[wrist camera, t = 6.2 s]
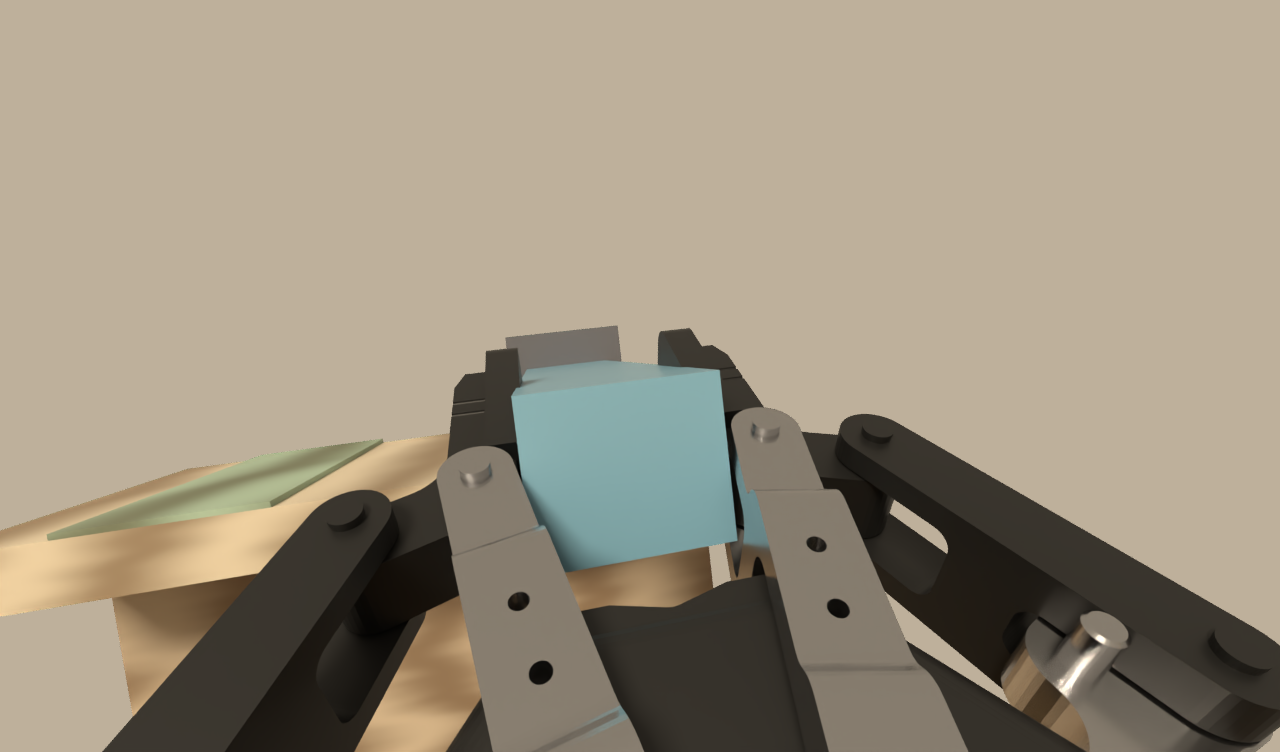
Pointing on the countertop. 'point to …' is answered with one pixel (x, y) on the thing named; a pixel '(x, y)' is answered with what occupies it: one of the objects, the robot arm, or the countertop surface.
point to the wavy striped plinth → (246, 541)
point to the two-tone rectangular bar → (620, 450)
